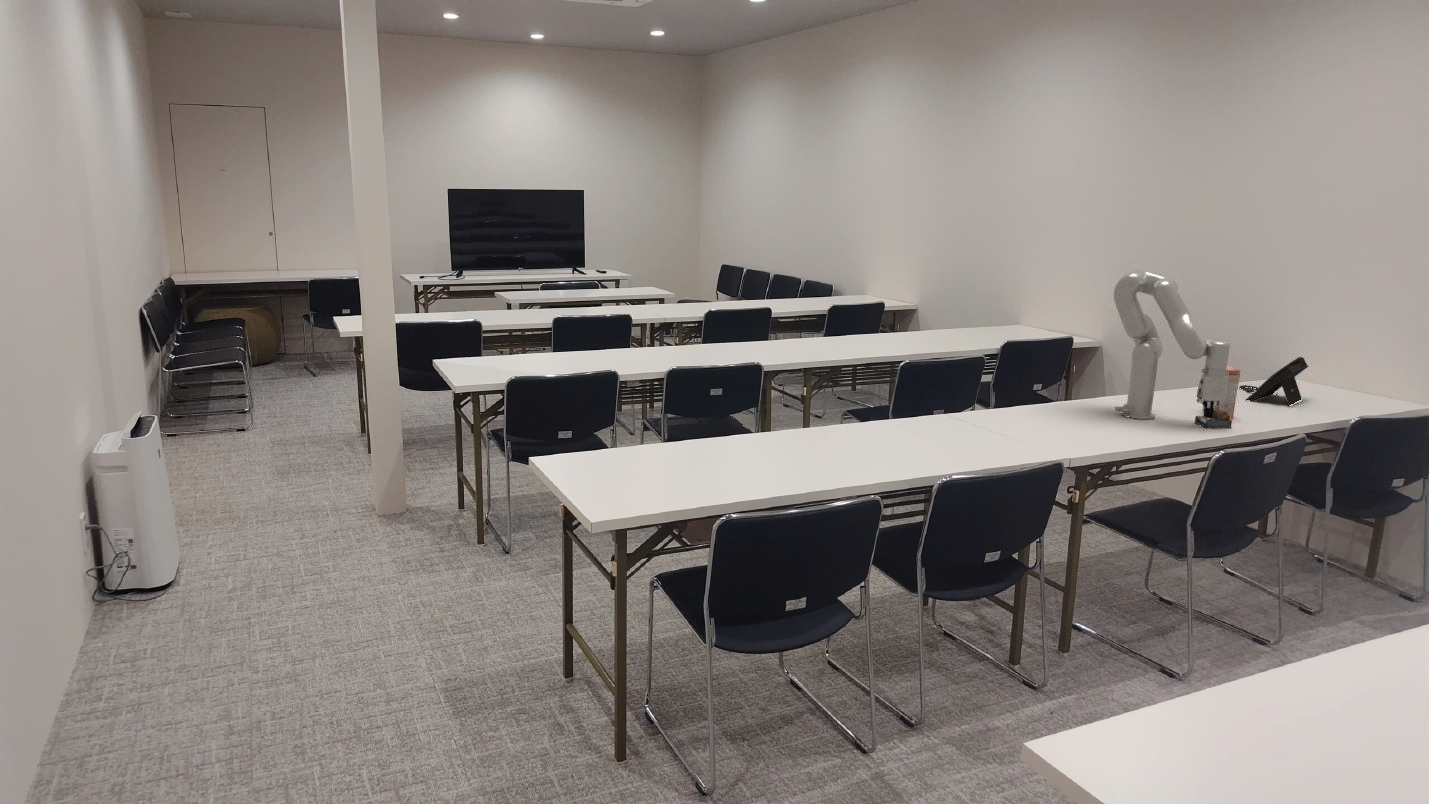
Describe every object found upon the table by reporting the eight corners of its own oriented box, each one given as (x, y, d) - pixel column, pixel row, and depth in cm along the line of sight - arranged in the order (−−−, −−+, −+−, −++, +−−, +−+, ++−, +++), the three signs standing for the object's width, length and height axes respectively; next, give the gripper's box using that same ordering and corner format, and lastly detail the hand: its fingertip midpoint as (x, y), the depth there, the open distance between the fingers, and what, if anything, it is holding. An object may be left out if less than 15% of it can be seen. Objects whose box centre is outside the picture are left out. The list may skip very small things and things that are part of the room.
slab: (1216, 419, 354) (1218, 412, 353) (1209, 416, 358) (1210, 409, 357) (1226, 419, 354) (1227, 412, 353) (1218, 416, 359) (1220, 409, 358)
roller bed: (1207, 428, 352) (1208, 416, 351) (1194, 423, 360) (1196, 411, 359) (1230, 428, 353) (1232, 415, 352) (1217, 422, 361) (1219, 410, 360)
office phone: (1242, 387, 427) (1249, 346, 423) (1310, 398, 407) (1318, 355, 402) (1218, 396, 409) (1224, 352, 404) (1287, 408, 388) (1295, 362, 383)
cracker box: (1233, 419, 367) (1241, 369, 362) (1218, 419, 367) (1226, 369, 362) (1215, 411, 380) (1223, 362, 375) (1201, 410, 380) (1208, 362, 375)
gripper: (1203, 374, 347) (1196, 419, 351) (1238, 374, 348) (1231, 419, 353) (1191, 370, 354) (1184, 414, 358) (1226, 369, 355) (1219, 414, 360)
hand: (1207, 417), depth 355 cm, fingers closed
